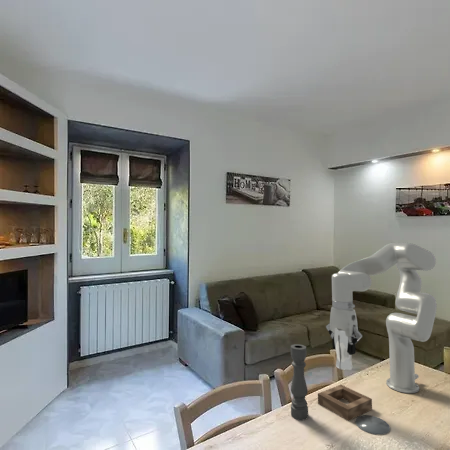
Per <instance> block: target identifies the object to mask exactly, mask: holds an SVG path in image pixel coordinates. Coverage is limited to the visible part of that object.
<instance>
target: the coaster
mask: <svg viewBox="0 0 450 450" xmlns="http://www.w3.org/2000/svg"><path fill="white" fill-rule="evenodd" d="M354 421H355V422H354V423H355V425H356V426H357V427H358V428H359V429H360V430H361V431H364V432H365V433H368V434H371V435H376V434H383V435H387V434H389V433H390V431H391V427H390V424H389V423H388V422H387V421H386V420H384V419H382V418H381V417H379V416H375V415H370V414H362V415H360V416H358V417H356V418H354Z"/></svg>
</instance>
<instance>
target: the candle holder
mask: <svg viewBox="0 0 450 450" xmlns="http://www.w3.org/2000/svg"><path fill="white" fill-rule="evenodd" d="M290 356H291V359H292V362H291V366H292V367H293V376H292V380H291V384H290V392H291V394H292V397H293V398H292V400H291V404H290V415H291V417H292V418H293V419H295V420H298V421H305V420H307V419H308V418H309V406H308V401H307V400H306V396H307V395H308V392H309V390H308V386H307V382H306V377H305V367H306V366H307V363H306V362H305V360H306V357H307V346H306V345H304V344H301V343H299V344H296V343H295V344H291V345H290Z"/></svg>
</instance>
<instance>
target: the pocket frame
mask: <svg viewBox="0 0 450 450" xmlns="http://www.w3.org/2000/svg"><path fill="white" fill-rule="evenodd" d="M342 399H343V400H344V401H346V402H349V403H348V404H347V403H344V402H343V401H341V400H342ZM317 404H318V405H319V406H322V407H323V408H324V409H326V410H328V411H330V412H331V413H333V414H335V415H337V416H339V417H341V418H342V419H344V420H346V421H348V422H349V421H351V420H355V419H356V418H357V417H358V416H361V415H365V414H366V413H368V412H370V411H373V399H372V398H370V397H369V396H367V395H364V394H362V393H360V392H358V391H356V390H353V389H352V388H349V387H347V386H346V385H343V384H339V385H336V386H334V387H331V388H329V389H326V390H324V391H321V392H318V393H317Z"/></svg>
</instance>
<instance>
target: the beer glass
mask: <svg viewBox="0 0 450 450" xmlns="http://www.w3.org/2000/svg"><path fill="white" fill-rule="evenodd" d="M351 339H352V337H351ZM334 343H335V349H334V350H335V353H336V362H335V363H336V364H335V366H336V368H337V369H338V370H342V371H343V370H344V371H351V370H352V369H353V367H354V366H353V363H352V355H349V349H348V345H349V344H350V343H349V340H348V337H347V336H346V334H345V331H343V330H338V329H336V328H335V329H334Z"/></svg>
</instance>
